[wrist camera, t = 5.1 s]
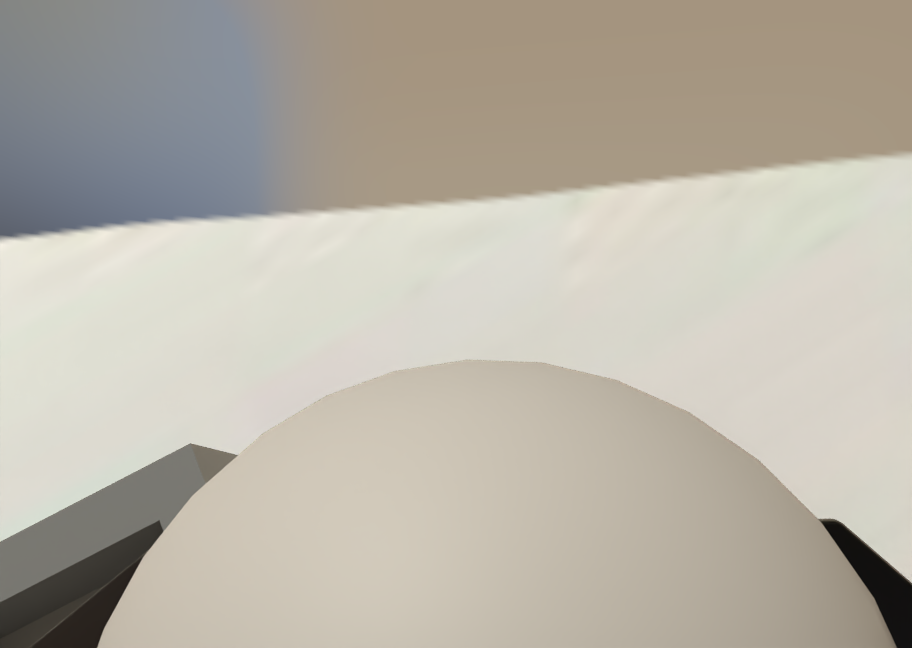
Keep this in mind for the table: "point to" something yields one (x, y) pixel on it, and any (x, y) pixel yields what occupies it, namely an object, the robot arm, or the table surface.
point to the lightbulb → (494, 529)
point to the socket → (93, 542)
